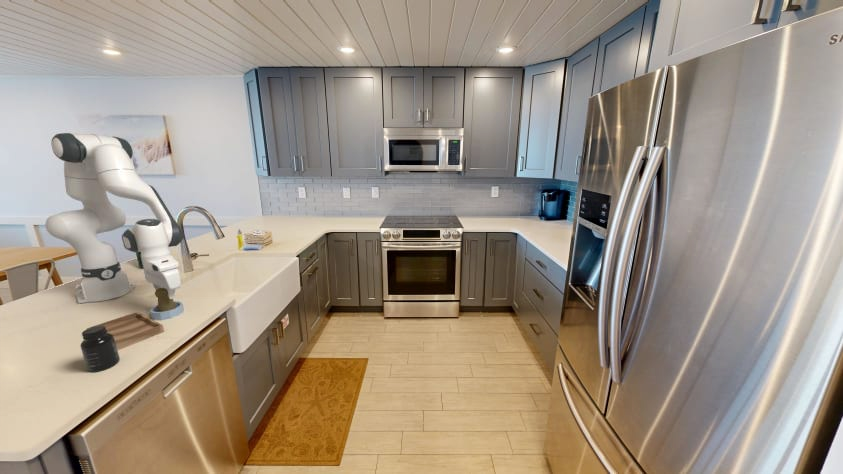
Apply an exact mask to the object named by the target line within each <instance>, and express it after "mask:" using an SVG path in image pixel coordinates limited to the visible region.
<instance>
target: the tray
mask: <svg viewBox="0 0 843 474" xmlns="http://www.w3.org/2000/svg"><path fill="white" fill-rule="evenodd" d="M163 325H164V324H161V323H159V322H157V320H154V319H152V318H150V317H149V316H147V315H145V314H143V313H142V312H139V311H136V312H133V313H129V314H126V315H123V316H120V317H118V318H114V319H112V320H108V321H104V322H102V323H99V324H95V325H92V326H89V327H87V328H86V329H89V328H92V327H95V326H105V327H106V330H107V333H110V334H112V335H113V337H114V340H115V343H116V347H117V350H118V351H120V350H122V349H124V348H126V347H130V346H132V345H134V344H137V343H140V342H142V341H145V340H147V339H149V338H152V337H154V336H158V335H159V334H162V333H164V332H165V330H164V326H163Z"/></svg>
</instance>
